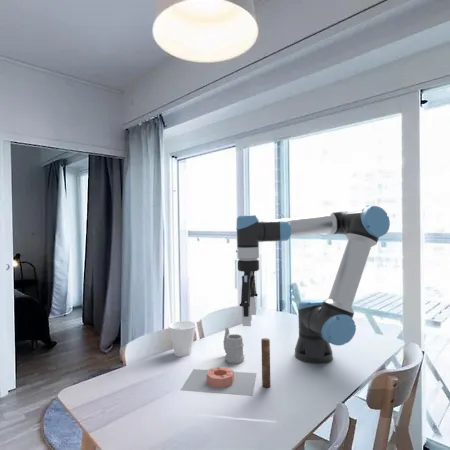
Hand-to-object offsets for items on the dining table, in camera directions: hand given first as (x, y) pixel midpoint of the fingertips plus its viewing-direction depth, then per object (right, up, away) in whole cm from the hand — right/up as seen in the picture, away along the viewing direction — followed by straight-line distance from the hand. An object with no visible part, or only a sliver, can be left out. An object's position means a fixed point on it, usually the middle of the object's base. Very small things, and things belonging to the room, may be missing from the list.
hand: (249, 320), depth 114 cm
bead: (-10, -21, 0) cm, 24 cm away
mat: (-10, -22, 0) cm, 24 cm away
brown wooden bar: (+5, -22, -4) cm, 22 cm away
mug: (-6, -22, +19) cm, 30 cm away
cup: (-27, -22, +26) cm, 44 cm away
